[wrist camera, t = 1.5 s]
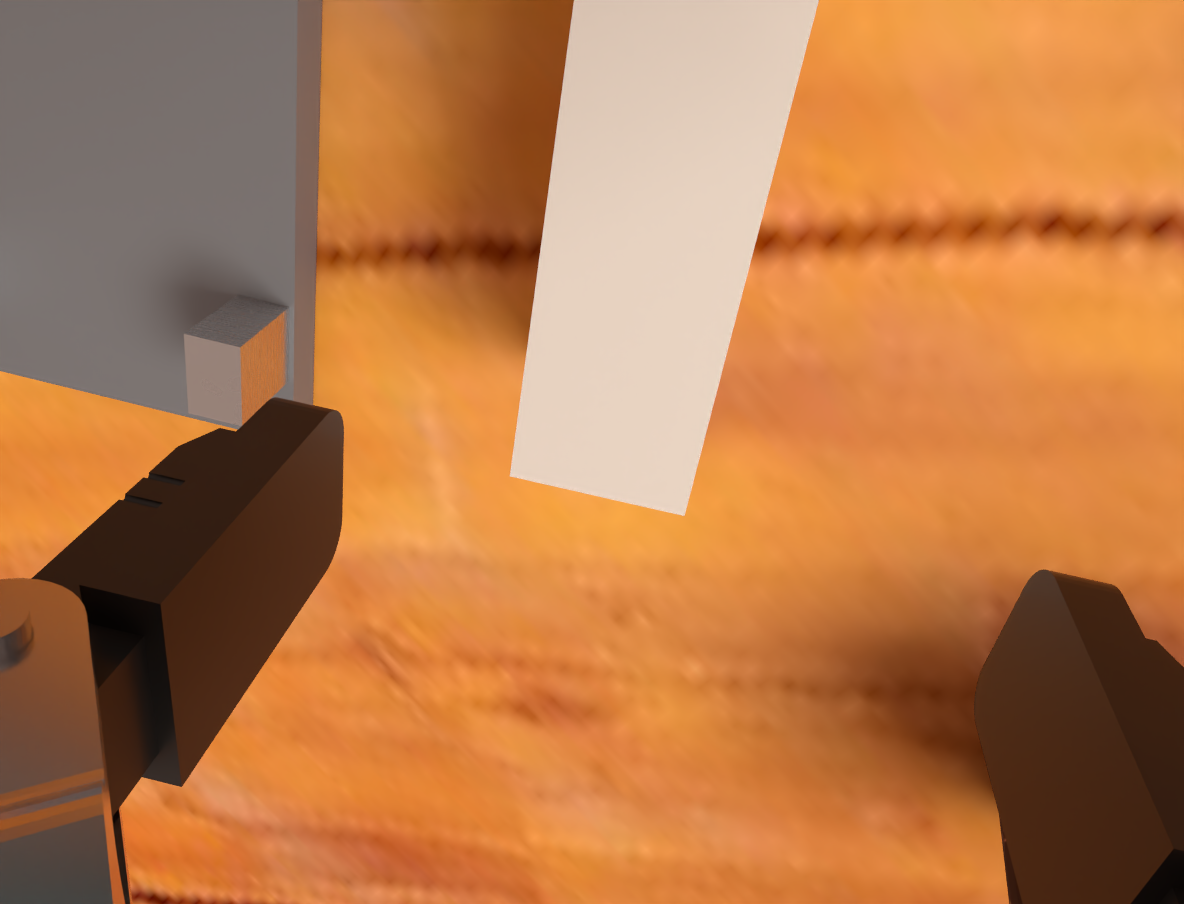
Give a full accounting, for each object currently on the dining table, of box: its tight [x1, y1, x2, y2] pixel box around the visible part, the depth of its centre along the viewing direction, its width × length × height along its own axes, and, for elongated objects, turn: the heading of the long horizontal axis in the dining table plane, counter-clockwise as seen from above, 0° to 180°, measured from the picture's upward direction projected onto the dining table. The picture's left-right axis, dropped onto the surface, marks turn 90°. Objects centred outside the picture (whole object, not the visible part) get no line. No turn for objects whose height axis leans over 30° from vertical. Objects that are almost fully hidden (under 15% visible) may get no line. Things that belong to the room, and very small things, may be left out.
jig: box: [0, 0, 322, 429], centre depth 24 cm, size 20×12×4 cm, turn 170°
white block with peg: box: [510, 0, 819, 516], centre depth 20 cm, size 16×4×10 cm, turn 171°
